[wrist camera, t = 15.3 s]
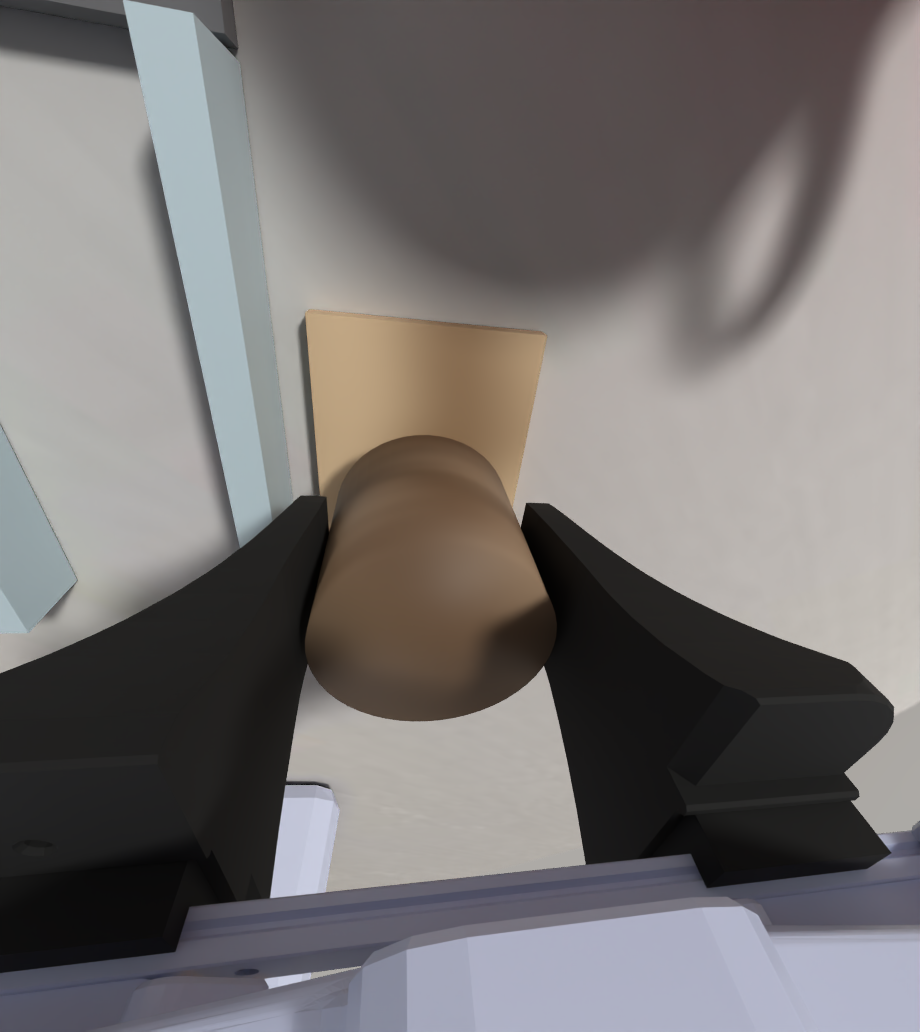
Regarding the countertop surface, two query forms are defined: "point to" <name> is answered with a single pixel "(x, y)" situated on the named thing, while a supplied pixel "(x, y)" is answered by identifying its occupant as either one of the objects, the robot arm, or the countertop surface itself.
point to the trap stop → (106, 6)
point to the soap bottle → (303, 849)
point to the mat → (418, 389)
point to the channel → (210, 296)
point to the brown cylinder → (426, 587)
